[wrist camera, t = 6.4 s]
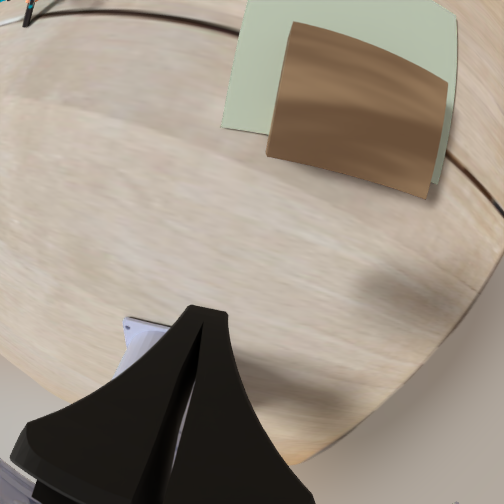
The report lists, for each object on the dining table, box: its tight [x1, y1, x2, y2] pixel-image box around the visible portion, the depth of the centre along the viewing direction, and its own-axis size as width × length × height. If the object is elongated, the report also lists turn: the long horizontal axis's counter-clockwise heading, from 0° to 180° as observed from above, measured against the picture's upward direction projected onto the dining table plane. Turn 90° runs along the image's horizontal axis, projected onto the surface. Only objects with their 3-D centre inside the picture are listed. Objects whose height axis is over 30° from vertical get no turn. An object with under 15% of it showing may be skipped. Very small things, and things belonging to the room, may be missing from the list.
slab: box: [266, 21, 448, 199], centre depth 13 cm, size 3×10×8 cm
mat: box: [221, 0, 457, 185], centre depth 13 cm, size 16×16×1 cm
